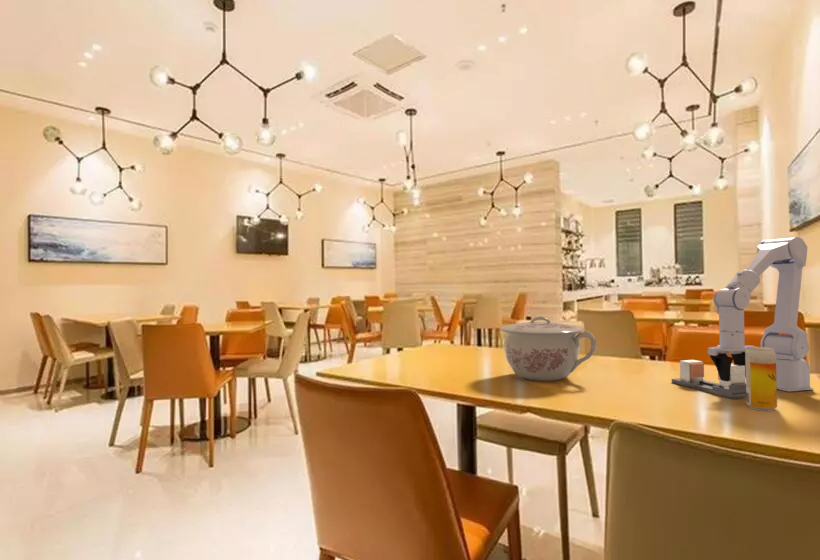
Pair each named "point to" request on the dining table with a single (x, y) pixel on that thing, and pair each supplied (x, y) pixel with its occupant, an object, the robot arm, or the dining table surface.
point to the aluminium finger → (734, 376)
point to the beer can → (761, 378)
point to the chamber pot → (544, 349)
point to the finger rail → (694, 379)
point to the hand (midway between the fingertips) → (732, 379)
